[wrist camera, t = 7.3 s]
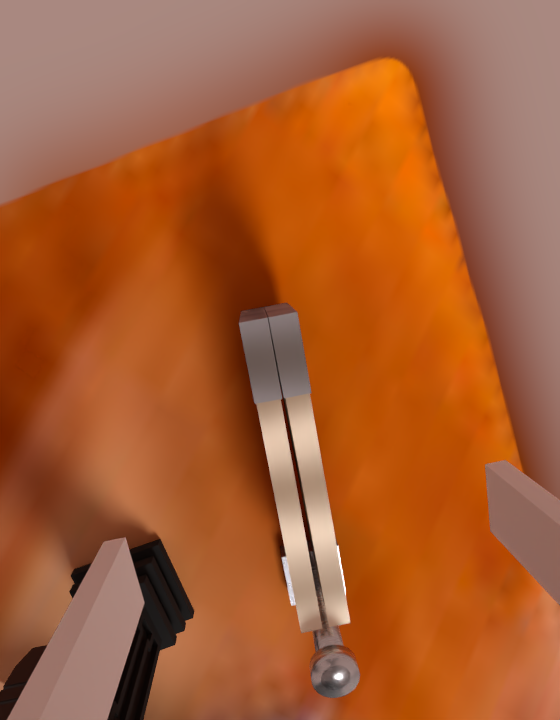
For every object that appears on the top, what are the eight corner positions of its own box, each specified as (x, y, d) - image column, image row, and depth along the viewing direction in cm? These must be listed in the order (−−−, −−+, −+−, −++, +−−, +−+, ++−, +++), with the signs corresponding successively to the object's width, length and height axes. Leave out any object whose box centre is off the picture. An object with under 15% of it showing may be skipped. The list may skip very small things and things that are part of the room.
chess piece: (160, 539, 37) (59, 839, 18) (194, 610, 39) (137, 956, 19) (74, 569, 37) (-122, 902, 18) (112, 639, 39) (-28, 1014, 19)
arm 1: (332, 555, 36) (351, 623, 29) (313, 559, 36) (328, 628, 29) (286, 302, 32) (297, 311, 25) (264, 306, 31) (268, 317, 24)
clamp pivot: (342, 582, 39) (377, 699, 28) (289, 593, 39) (304, 715, 28) (334, 535, 38) (367, 639, 27) (280, 546, 38) (292, 655, 27)
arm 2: (309, 559, 36) (324, 629, 29) (290, 563, 36) (300, 634, 29) (263, 307, 31) (267, 317, 24) (241, 311, 31) (238, 322, 24)
